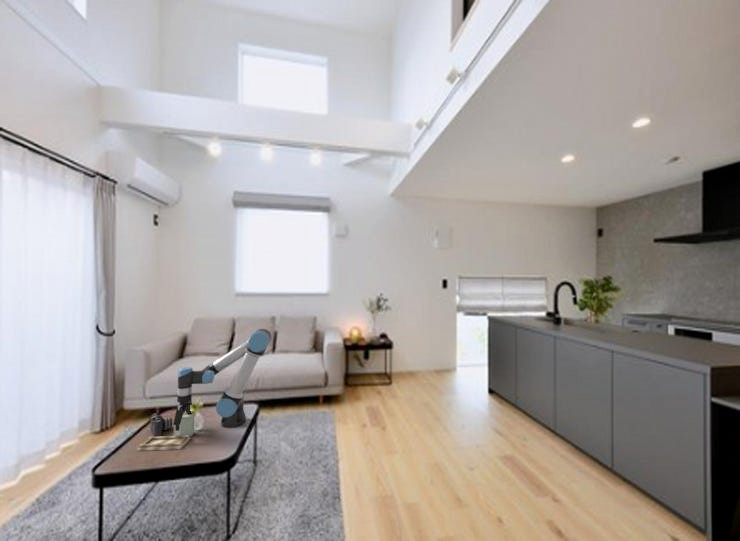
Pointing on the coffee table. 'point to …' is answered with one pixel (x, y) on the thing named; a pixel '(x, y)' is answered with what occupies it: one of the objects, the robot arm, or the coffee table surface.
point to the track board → (164, 443)
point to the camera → (159, 424)
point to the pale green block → (186, 425)
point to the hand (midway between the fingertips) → (183, 430)
